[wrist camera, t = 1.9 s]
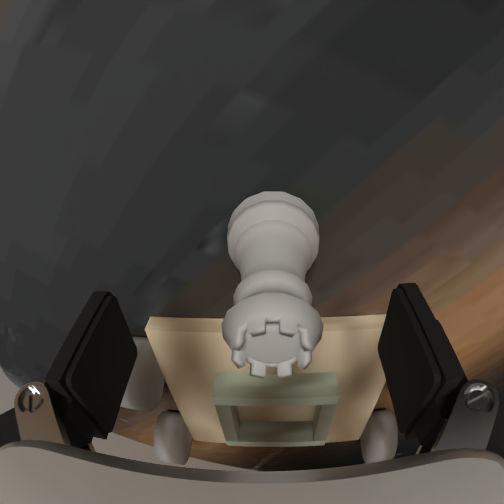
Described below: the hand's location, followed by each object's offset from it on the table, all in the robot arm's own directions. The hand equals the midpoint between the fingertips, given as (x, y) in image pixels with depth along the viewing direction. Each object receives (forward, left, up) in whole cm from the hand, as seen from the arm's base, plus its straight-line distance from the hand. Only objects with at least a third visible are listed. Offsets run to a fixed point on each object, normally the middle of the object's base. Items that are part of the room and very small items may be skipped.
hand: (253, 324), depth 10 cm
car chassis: (-1, +14, -7) cm, 16 cm away
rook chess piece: (-1, 0, -7) cm, 7 cm away
